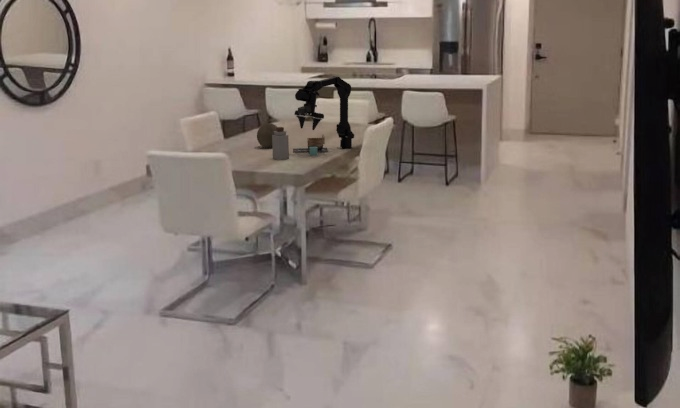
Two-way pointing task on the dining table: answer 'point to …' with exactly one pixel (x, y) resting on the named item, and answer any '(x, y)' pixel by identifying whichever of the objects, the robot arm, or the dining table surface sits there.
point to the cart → (316, 142)
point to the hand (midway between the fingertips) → (307, 129)
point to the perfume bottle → (280, 144)
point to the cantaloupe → (266, 134)
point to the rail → (308, 150)
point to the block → (313, 151)
